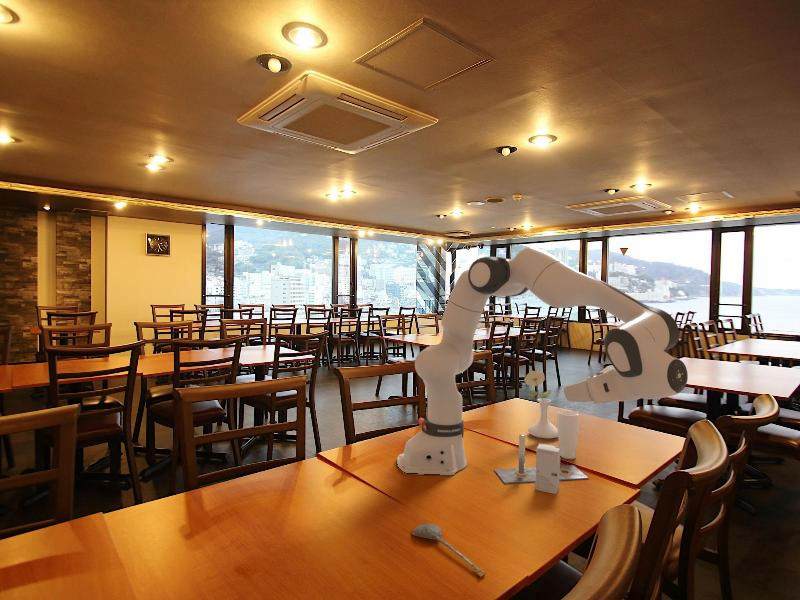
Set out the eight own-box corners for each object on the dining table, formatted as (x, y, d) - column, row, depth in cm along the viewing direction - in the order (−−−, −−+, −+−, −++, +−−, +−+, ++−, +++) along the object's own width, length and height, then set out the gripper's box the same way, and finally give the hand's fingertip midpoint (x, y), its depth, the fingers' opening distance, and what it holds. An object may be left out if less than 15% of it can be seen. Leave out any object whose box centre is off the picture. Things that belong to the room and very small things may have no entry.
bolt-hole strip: (504, 483, 130) (504, 482, 130) (494, 470, 139) (494, 469, 139) (588, 479, 134) (588, 477, 134) (573, 466, 143) (573, 465, 143)
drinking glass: (574, 453, 153) (575, 409, 153) (580, 461, 147) (581, 416, 146) (554, 452, 154) (555, 409, 153) (559, 460, 147) (560, 415, 146)
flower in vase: (558, 432, 174) (559, 368, 173) (560, 442, 163) (562, 374, 162) (523, 429, 177) (524, 366, 176) (523, 439, 166) (524, 372, 165)
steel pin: (518, 476, 134) (519, 437, 133) (514, 472, 137) (515, 433, 136) (528, 476, 134) (528, 436, 134) (524, 472, 137) (524, 433, 137)
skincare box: (534, 489, 127) (535, 447, 126) (537, 483, 131) (538, 442, 130) (557, 495, 124) (558, 452, 123) (560, 488, 128) (560, 446, 127)
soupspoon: (428, 527, 110) (406, 537, 106) (427, 513, 110) (405, 523, 106) (493, 573, 92) (469, 587, 88) (493, 557, 91) (469, 570, 88)
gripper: (644, 361, 114) (602, 368, 127) (585, 378, 106) (546, 384, 118) (652, 386, 113) (609, 390, 125) (593, 405, 105) (554, 408, 117)
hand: (578, 387), depth 122 cm, fingers open, 8 cm apart
